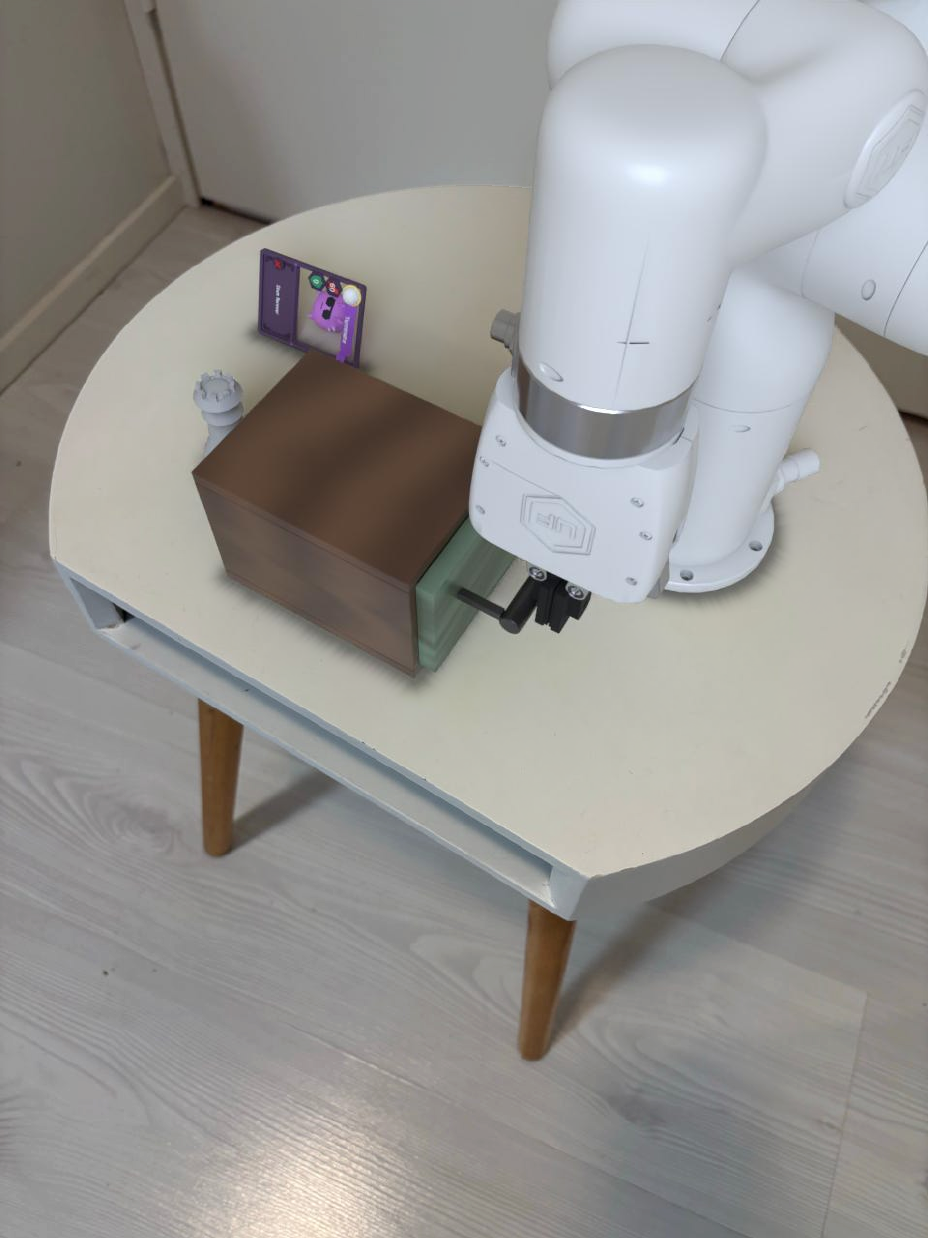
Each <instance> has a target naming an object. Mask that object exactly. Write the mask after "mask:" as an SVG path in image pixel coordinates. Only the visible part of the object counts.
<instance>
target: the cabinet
mask: <svg viewBox="0 0 928 1238" xmlns="http://www.w3.org/2000/svg"><path fill="white" fill-rule="evenodd" d="M482 426H483V425H480V424H478V423H476V422H473V421H471V420H469V419H467V418H465V417H463V416H460V415H458V414H456V413H454V412H452V411H450V410H447V409H445V408H443V407H441V406H438V405H436V404H435V403H432V402H430V401H427V400H426V399H423V398H421V397H419V396H416V395H414V394H412V393H411V392H408V391H406V390H404V389H402V388H399V387H397V386H396V385H393V384H391V383H389V382H386V381H384V380H382V379H381V378H377V377H375V376H373V375H371V374H369V373H366V372H365V371H362V370H360V369H359V368H358V369H356V368H354V367H352V366H349V365H347V364H345V363H343V362H341V361H338V360H336V359H334V358H332V357H330V356H328V355H325V354H323V353H321V352H319V351H317V350H314V349H312V348H311V349H310V350H309V351H308V352H306V353H305V354H304V355H303V356H302V357H301V358H300V359H299V360H298V361H297V362H296V363H295V364H294V365H293V366H292V367H291V368H290V369H289V371H287V372H286V374H284V375H283V376H282V377H281V378H280V380H279V381H278V382H276V384H275V385H274V386H273V387H272V388H271V389H270V390H269V391H268V392H267V393H266V394H265V395H264V396H263V397H262V398H261V399H260V400H259V401H258V402H257V403H256V404H255V406H253V408H252V409H251V410H250V411H248V413H247V414H246V415H245V416H243V419H242V420H241V421H240V422H239V423H238V424H237V425H236V426H235V427H234V428H233V429H232V431H231V432H230V433H229V434H228V435H227V436H226V437H225V438H224V439H223V440H222V441H221V442H220V443H219V444H218V445H217V446H216V447H215V448H214V449H213V450H212V451H211V452H210V453H209V454H208V455H207V456H206V457H205V458H204V457H203V459H202V460H201V461H200V462H199V463H198V464H197V465H196V467H195V468H194V469H192V471H190V472H191V475H192V479H193V481H194V484H195V487H196V490H197V493H198V496H199V499H200V501H201V505H202V507H203V510H204V512H205V516H206V518H207V521H208V524H209V527H210V530H211V532H212V535H213V538H214V541H215V544H216V547H217V550H218V553H219V556H220V558H221V561H222V564H223V566H224V569H225V572H226V575H227V577H229V578H230V579H232V580H234V581H236V582H238V583H240V584H241V585H244V587H247V588H249V589H251V590H252V591H254V592H256V593H258V594H260V595H262V596H263V597H265V598H267V599H269V600H271V601H273V602H275V603H277V604H278V605H280V606H281V607H284V608H286V609H287V610H289V611H291V612H293V613H295V614H296V615H298V616H300V617H301V618H304V619H305V620H307V621H309V622H311V623H312V624H315V625H316V626H318V627H320V628H321V629H324V630H326V631H327V632H329V633H331V634H333V635H335V636H336V637H338V638H340V639H342V640H344V641H345V642H347V643H349V644H350V645H353V646H354V647H356V648H359V649H360V650H362V651H364V652H366V653H367V654H369V655H371V656H373V657H375V658H376V659H379V660H380V661H382V662H384V663H386V664H387V665H389V666H391V667H393V668H395V669H396V670H398V671H400V672H402V673H404V674H405V675H407V676H409V677H411V678H413V679H415V678H416V677H417V676H418V674H419V672H420V671H421V670H422V668H423V667H424V666H422V665H420V664H419V646H418V628H417V609H416V590H415V586H416V585H417V582H418V581H419V579H420V578H421V577H422V575H423V574H424V573H425V571H426V570H427V569H428V567H429V566H430V565H431V563H432V562H433V561H434V559H435V558H436V557H437V555H438V554H439V553H440V551H441V550H442V549H443V547H444V546H445V545H446V543H447V542H448V541H449V539H450V538H451V537H452V535H453V534H454V533H455V531H456V530H457V529H458V527H459V526H460V525H461V523H462V522H463V521H464V519H465V518H466V517H467V515H468V514H469V494H470V486H471V479H472V473H473V467H474V462H475V456H476V452H477V447H478V443H479V438H480V434H481V430H482Z"/></svg>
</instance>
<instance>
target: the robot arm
mask: <svg viewBox="0 0 928 1238" xmlns="http://www.w3.org/2000/svg"><path fill="white" fill-rule="evenodd" d="M545 46H546V47H545V72H546V77H547V78H546V79H547V83H548V86H549V90H550V92H549V94H548V95H547V97H546V100H545V102H544V104H543V106H542V109H541V112H540V116H539V120H538V126H537V133H536V139H535V140H536V141H535V149H534V159H533V160H534V161H533V169H532V170H533V171H532V181H531V182H532V183H531V191H530V192H531V194H530V206H529V216H528V226H527V237H526V247H525V248H526V249H525V250H526V251H525V258H524V259H525V260H524V262H525V263H524V271H523V281H522V291H521V304H520V311H519V312H516V313H514V312H511V311H509V310H506V309H504V308H501V309H500V310H499V311H498V312H497V313H496V315H495V317H494V318H493V321H492V324H491V327H490V331H489V332H490V335H489V336H490V338H491V340H494V341H496V342H499V343H501V344H503V347H504V348H505V349H508V351H509V353H510V355H511V356H512V357H511V364H509V366H507V367H506V368H505V369H504V370H503V371H502V372H501V374H500V375H499V376H498V378H497V380H496V383H495V386H494V388H493V390H492V394H491V396H490V399H489V402H488V404H487V405H488V406H487V409H486V412H485V416H484V419H483V422H482V425H481V426H482V430H481V434H480V438H479V443H478V447H477V452H476V456H475V462H474V467H473V473H472V479H471V486H470V494H469V517H470V521H471V524H472V526H473V527H474V529H475V530H476V531H477V532H478V533H479V534H480V535H481V536H482V537H483V538H485V539H486V540H488V541H489V542H491V543H492V544H494V545H496V546H498V547H500V548H502V549H504V550H506V551H508V552H510V553H511V554H514V555H516V556H517V558H520V559H521V560H524V561H525V564H526V572H527V574H528V576H529V575H530V576H531V577H532V578H534V585H533V592H532V598H534V599H536V600H538V603H537V607H536V609H535V617H534V623H536V624H538V625H540V626H542V627H543V626H544V625H545V626H548V627H549V628H550V631H552V632H554V633H556V634H560V633H561V632H562V630H563V629H564V627H565V626H566V624H567V622H568V620H569V619H570V618H572V619H574V620H576V621H579V620H581V618H582V616H583V614H584V613H585V611H586V610H587V607H588V605H589V603H590V601H591V597H592V593H593V594H595V595H597V596H600V597H602V598H604V599H607V600H609V601H611V602H616V603H618V604H619V603H620V604H624V605H637V604H640V603H643V602H644V601H645V599H646V598H650V599H655V600H656V599H658V598H660V597H661V595H662V594H663V591H664V590H666V591H672V592H676V593H693V594H694V593H695V594H697V593H707V592H714V591H717V590H720V589H724V588H727V587H731V586H732V585H734V584H736V583H737V582H739V581H741V580H743V579H746V578H747V577H748V575H749V574H751V573H752V572H753V571H754V570H756V569H757V567H759V565H760V563H761V562H762V560H763V559H764V557H765V556H766V554H767V552H768V550H769V548H770V546H771V544H772V540H773V537H774V533H775V512H774V509H773V504H772V499H773V497H774V496H776V495H779V494H781V493H782V492H783V490H785V486H786V485H788V484H791V483H796V482H798V481H801V480H804V479H805V478H808V477H811V476H813V475H815V474H818V473H819V472H820V470H821V461H820V457H819V455H818V454H817V452H816V451H815V450H814V449H813V448H811V447H805V448H802V449H799V450H797V451H794V452H792V453H789V454H787V455H786V453H787V451H788V449H789V446H790V444H791V442H792V440H793V438H794V436H795V433H796V431H797V429H798V427H799V424H800V422H801V420H802V418H803V416H804V413H805V411H806V409H807V407H808V404H809V403H810V400H811V398H812V396H813V393H814V391H815V389H816V386H817V384H818V382H819V380H820V378H821V376H822V373H823V372H824V369H825V367H826V365H827V363H828V359H829V356H830V353H831V350H832V347H833V346H832V345H833V340H834V336H835V335H834V334H835V323H836V321H835V318H836V314H837V315H839V316H841V317H844V318H845V319H847V320H849V321H850V322H853V323H855V324H857V325H859V326H860V327H862V328H865V329H866V330H868V331H870V332H873V333H874V334H876V335H878V336H881V337H882V338H884V339H886V340H889V341H891V342H893V343H895V344H897V345H899V346H901V347H903V348H906V349H908V350H911V351H912V352H915V353H917V354H920V355H924V356H927V357H928V0H557V1H556V4H555V7H554V10H553V13H552V17H551V19H550V24H549V28H548V33H547V39H546V45H545Z"/></svg>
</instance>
